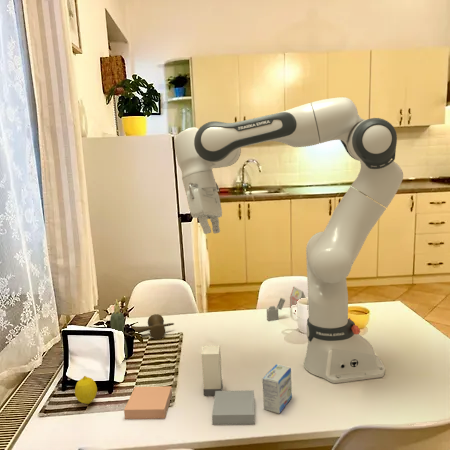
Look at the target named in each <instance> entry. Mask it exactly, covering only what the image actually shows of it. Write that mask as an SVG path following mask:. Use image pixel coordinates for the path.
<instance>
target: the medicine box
mask: <svg viewBox="0 0 450 450" xmlns="http://www.w3.org/2000/svg"><path fill="white" fill-rule="evenodd" d="M261 382H262V396H263V397H262V399H263V400H262V401H263V409H264V410H266V411H268V412H272V413H275V414H278V415H279V414H281V413H282V411H283V410H284V409H285V408H286V406H287V404H288V403H289V401H290V400H291V399H292V398H293V393H292V392H293V390H292V388H293V387H292V367H289V366H286V365H283V364H277V363H276V364H275V365H274V366H273V367H272V368H271V369H270V370H269V371H268V372H267V373H266V374H265V376H264V377H263V378H262V379H261Z"/></svg>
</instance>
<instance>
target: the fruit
mask: <svg viewBox="0 0 450 450" xmlns="http://www.w3.org/2000/svg"><path fill="white" fill-rule="evenodd" d="M96 383H97V382H96V381H95V380H94V379H93V378H91V377H88V376H86V375H84V376H83V377H82V378H80V379H79V380H78V381H77V382H76V384H75V388H74V395H75V398H76V400H77V401H78V402H80V403H81V404H86V405H89V404H92V402H93V401H94V400H95V398H96V396H97V392H98V387H97V384H96Z"/></svg>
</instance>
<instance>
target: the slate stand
mask: <svg viewBox="0 0 450 450" xmlns="http://www.w3.org/2000/svg"><path fill="white" fill-rule="evenodd" d="M213 399H214V400H213V405H212V414H211V417H212V418H211V419H212V420H211V422H212V425H214V426H215V425H217V426H218V425H227V426H228V425H229V426H230V425H255V424H256V421H255V419H256V418H255V417H256V416H255V389H253V390H250V389H249V390H222V391H215V396H214V398H213Z"/></svg>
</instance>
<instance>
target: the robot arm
mask: <svg viewBox="0 0 450 450" xmlns="http://www.w3.org/2000/svg"><path fill="white" fill-rule="evenodd" d="M338 140H339V141H340V142H341V143H342V144H341V145H342V146H343V147H344V149H345V152H346V153H347V154H348V155H349V157H351V158H352V159H353V160H355V161H358V162H360V168H359V172H358V175H357V177H356V178H355V180H354V181H353V182H352V183H351V185H350V186H349V188H348V190H346V193H345V194H344V195H343V197H342V198H341V200H340V201H339V203H337V206H335V208H334V210H333V212H332V215H331V216H330V219H329V221H328V222H327V225H326V226H325V228H324V230H323V231H319V232H316V233H314V234H313V235H312V236H311V237H310V239H308V241H307V244H306V247H305V248H306V249H305V252H306V254H305V256H306V259H305V260H306V280H307V281H306V282H307V295H308V296H307V310H308V317H307V321H306V336H307V346H306V347H307V348H306V354H305V357H304V362H303V366H304V369H305V370H307V372H309V373H310V374H312V375H314V376H317V377H320V378H321V379H325V380H327V381H328V382H330V383H333V384H339V383H346V382H347V383H348V382H355V381H362V380H363V381H364V380H369V379H377V378H378V379H379V378H383V377H384V376H385V373H386V372H385V371H386V370H385V366H384V363H383V361H382V360H381V358H380V357H379V356H378V355H376V353H375V350H374V347H373V346H372V344H371V342H370V341H368V339H366V338H365V337H363V336H362V335H360V333H361V330H360V328H359V325H356V323H355V322H354V321H353V320H352V319H351V317H349V294H348V293H349V292H348V283H347V277H348V276H349V275H350V272H351V271H352V267H353V265H354V262H355V261H356V259H357V257H358V255H359V253H360V252H361V250H362V248H363V246H364V244H365V241H366V239H367V238H368V236H369V234H370V233H371V231H372V230H373V228H374V226H375V225H376V224H377V222H378V221H379V220H380V218H381V217H382V215H383V214H384V213H385V211H386V210H387V209H388V206H389V205H391V203H392V201H393V199H394V197H395V196H396V194H397V192H398V190H399V188H400V187H401V184H402V182H403V179H404V172H403V169H402V168H401V167H400V165H399V164H398V163H397V162H395V160H396V152H397V151H396V149H397V144H398V135H397V131H396V129H395V127H394V125H393V124H392V123H391V122H389V121H388V120H386V119H384V118H380V117H373V118H367V119H365V118H362V117H361V116H360V115H359V112H358V108H357V106H356V104H355V102H353V100H352V99H351V98H348V97H345V96H342V97H341V96H340V97H331V98H325V99H324V98H323V99H320V100H315V101H312V102H309V103H305V104H301V105H298V106H295V107H292V108H289V109H287V110H283V111H279V112H275V113H272V114H266V115H263V116H258V117H254V118H249V119H244V120H241V121H237V122H236V121H235V122H224V121H223V122H222V121H209V122H207V123H204V124H203V125H201V126H200V127H199V128H198V127H196V126H195V127H194V126H192V127H188V128H185V129H183V130H181V131H180V132H179V133H178V134H177V135H176V136H175V138H174V150H175V156H176V160H177V164H178V167H179V169H180V170H181V180H182V183H183V187H184V191H185V195H186V200H187V204H188V208H189V213H190V215H191V217H192V218H193V219H198V222H199V224H200V226H201V228H202V232H203V234H205V235H207V234H210V233H212V232H213V234H218V233H220V232H221V230H220V229H221V228H220V220H219V218H222V216H223V210H222V205H221V199H220V195H219V193H218V192H220V188H219V185H218V183H217V182H216V179H215V176H214V173H213V169H218V168H226V167H231V166H233V165H234V164H236V162H238V160H239V159H240V156H241V153H242V150H241V149H242V148H245V147H248V146H253V145H258V144H260V143H261V144H263V143H264V142H265V143H267V142H279V143H282V144H285V145H288V146H290V147H292V148H304V147H305V148H306V147H312V146H316V145H320V144H323V143H327V142H332V141H338ZM209 220H210V223H211V226H210V224H209ZM211 227H212V228H211Z"/></svg>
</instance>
